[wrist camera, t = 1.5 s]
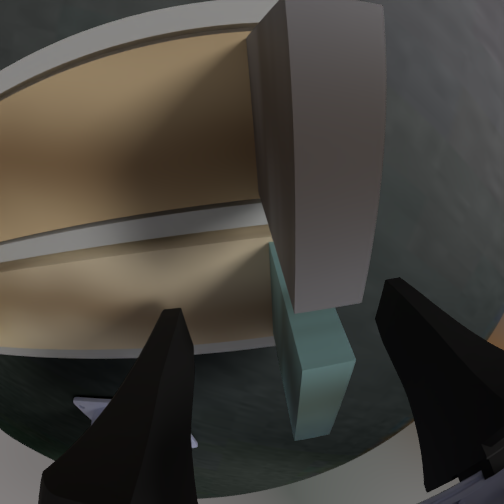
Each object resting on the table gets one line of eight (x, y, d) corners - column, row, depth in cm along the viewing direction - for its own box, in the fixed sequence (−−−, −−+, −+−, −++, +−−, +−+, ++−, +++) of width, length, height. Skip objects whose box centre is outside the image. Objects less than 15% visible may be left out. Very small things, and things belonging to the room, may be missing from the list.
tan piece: (295, 312, 14) (328, 435, 9) (-35, 330, 13) (-67, 399, 8) (296, 216, 11) (357, 354, 6) (-71, 273, 10) (-116, 342, 5)
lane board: (307, 317, 15) (314, 339, 14) (-32, 334, 14) (-39, 349, 13) (306, 8, 7) (320, -1, 6) (-111, 169, 6) (-125, 180, 5)
